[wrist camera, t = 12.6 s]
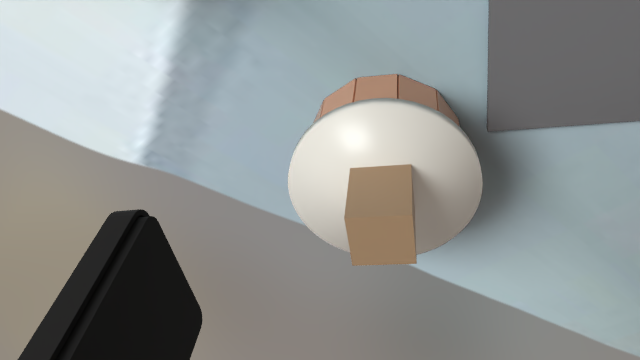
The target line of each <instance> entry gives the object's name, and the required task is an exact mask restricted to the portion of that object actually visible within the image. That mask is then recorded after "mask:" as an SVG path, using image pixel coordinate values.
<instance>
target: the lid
mask: <svg viewBox="0 0 640 360" xmlns="http://www.w3.org/2000/svg"><path fill="white" fill-rule="evenodd" d="M482 187H483V181H482V172H481V166H480V162H479V158H478V154H477V152H476V150H475V147H474V145H473V144H472V142H471V140H470V139H469V137H468V136H467V135H466V133H465V132H464V131H463V130H462V129H461V128H460V127H459V126H458V125H457V124H456V123H455V122H454V121H452V120H451V119H450V118H448V117H447V116H445V115H444V114H442V113H441V112H439V111H437V110H435V109H433V108H430V107H428V106H426V105H423V104H420V103H417V102H413V101H408V100H403V99H394V98H373V99H366V100H360V101H356V102H352V103H348V104H346V105H343V106H341V107H338V108H336V109H334V110H332V111H330V112H328V113H327V114H325V115H323V116H322V117H321V118H319V119H318V120H317V121H315V122H314V123H313V124H312V125H311V126H310V127H309V128H308V129H307V130H306V132H305V133H304V134H303V136H302V137H301V138H300V140H299V142H298V144H297V146H296V147H295V150H294V153H293V156H292V159H291V163H290V168H289V174H288V188H289V194H290V198H291V201H292V204H293V206H294V208H295V210H296V212H297V214H298V215H299V217H300V218H301V220H302V221H303V222H304V223H305V224H306V226H307V227H308V228H309V229H310V230H311V231H312V232H314V233H315V234H316V235H317V236H318V237H320V238H321V239H323V240H324V241H326V242H327V243H329V244H331V245H333V246H335V247H337V248H340V249H342V250H344V251H347V252H350V254H351V259H352V265H387V264H417V263H416V255H418V254H421V253H425V252H427V251H430V250H433V249H435V248H437V247H439V246H441V245H443V244H445V243H446V242H448V241H449V240H451V239H452V238H454V237H455V236H456V235H457V234H458V233H460V232H461V231H462V230H463V229H464V228H465V227H466V225H467V224H468V223H469V222H470V220H471V219H472V217H473V216H474V214H475V212H476V210H477V208H478V206H479V203H480V199H481V196H482Z"/></svg>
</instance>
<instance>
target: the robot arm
mask: <svg viewBox="0 0 640 360" xmlns="http://www.w3.org/2000/svg"><path fill="white" fill-rule="evenodd" d="M201 325H202V312H201V309H200V306H199V304H198V302H197V300H196V298H195V296H194V294H193V292H192V290H191V288H190V286H189V284H188V282H187V280H186V278H185V276H184V274H183V271H182V270H181V267H180V266H179V263H178V261H177V260H176V257H175V255H174V253H173V251H172V249H171V247H170V245H169V243H168V241H167V239H166V237H165V235H164V233H163V231H162V228H161V226H160V224H159V222H158V221H157V219H156V218H155V217H152V216H149V215H148V213H147V212H146V211H144V210H130V211H116V212H113V213H111V214H110V215H109V216H108V218H107V219H106V221H105V222H104V224H103V225H102V227H101V229H100V230H99V232H98V233H97V235H96V237H95V238H94V240H93V241H92V243H91V244H90V246H89V248H88V249H87V251H86V252H85V254H84V256H83V257H82V259H81V261H80V262H79V263H78V265H77V267H76V268H75V270H74V271H73V273H72V275H71V276H70V278H69V279H68V281H67V283H66V284H65V286H64V287H63V289H62V291H61V292H60V294H59V295H58V297H57V298H56V300H55V302H54V303H53V305H52V306H51V308H50V310H49V311H48V313H47V314H46V316H45V317H44V319H43V321H42V322H41V324H40V325H39V327H38V328H37V330H36V332H35V333H34V335H33V336H32V338H31V340H30V341H29V343H28V344H27V346H26V348H25V349H24V351H23V352H22V354H21V355H20V357H19V359H18V360H190V357H191V354H192V351H193V349H194V346H195V343H196V340H197V337H198V335H199V332H200V329H201Z"/></svg>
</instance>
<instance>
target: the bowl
mask: <svg viewBox="0 0 640 360" xmlns="http://www.w3.org/2000/svg"><path fill="white" fill-rule="evenodd" d="M373 98H394V99H403V100H408V101H413V102H417V103H420V104H423V105H426V106H428V107H430V108H433V109H435V110H437V111H439V112H441V113H442V114H444V115H445V116H447V117H448V118H450V119H451V120H452V121H454V122H455V123H456V124H457V125H458V126H459V120H458V117H457V116H456V115H455V113H454V112H453V111H452V109H451V108H450V107H449V105H448V104H447V103H446V101H445V100H444V99H443V97H442V96H441V95H440V93H439V92H438V91H437V90H436V89H434V88H432V87H429V86H427V85H424V84H422V83H419V82H417V81H415V80H412V79H410V78H407V77H405V76H402V75H400V74H399V76H398V77H397V74H392V75H381V76H370V77H360V78H357V80H356V78H355V79H354V80H352V81H351V82H349V83H348V84H346V85H345V86H343V87H342V88H340V89H339V90H337V91H336V92H334V93H333V94H331V95H330V96H328V97H327V98H325V100H323V103H322V105H321V107H320V109H319V112H318V114H317V116H316V118H315V121H317V120H318V119H319V118H321V117H322V116H323V115H325V114H327V113H328V112H330V111H332V110H334V109H336V108H338V107H341V106H343V105H346V104H348V103H352V102H356V101H360V100H366V99H373ZM315 121H314V122H315ZM459 127H460V126H459Z"/></svg>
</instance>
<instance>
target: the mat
mask: <svg viewBox="0 0 640 360" xmlns="http://www.w3.org/2000/svg"><path fill="white" fill-rule="evenodd" d="M628 121H640V0H489V25H488V91H487V130H488V132H490V131H504V130H518V129H532V128H545V127H559V126H573V125H587V124H600V123H614V122H628Z"/></svg>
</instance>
